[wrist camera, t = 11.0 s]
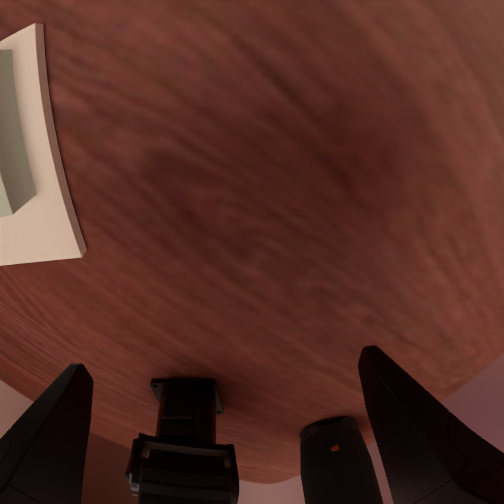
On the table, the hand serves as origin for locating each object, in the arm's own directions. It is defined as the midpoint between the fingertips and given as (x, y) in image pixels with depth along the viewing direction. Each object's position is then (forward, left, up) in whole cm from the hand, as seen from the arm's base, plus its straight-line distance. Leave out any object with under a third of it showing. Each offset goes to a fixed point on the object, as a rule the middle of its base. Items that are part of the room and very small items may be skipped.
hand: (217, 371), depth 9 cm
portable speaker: (-32, -10, -12) cm, 36 cm away
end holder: (+6, +17, -12) cm, 22 cm away
